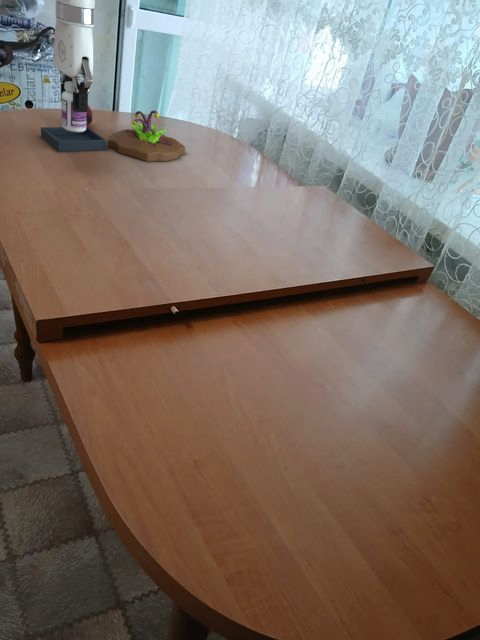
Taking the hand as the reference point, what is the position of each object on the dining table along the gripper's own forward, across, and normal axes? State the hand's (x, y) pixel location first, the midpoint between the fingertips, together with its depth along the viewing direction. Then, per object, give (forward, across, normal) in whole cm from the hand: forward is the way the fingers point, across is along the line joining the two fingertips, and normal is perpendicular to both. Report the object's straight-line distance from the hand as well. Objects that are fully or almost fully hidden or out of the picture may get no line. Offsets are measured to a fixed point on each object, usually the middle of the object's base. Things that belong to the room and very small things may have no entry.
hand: (74, 106), depth 122 cm
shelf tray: (+17, -24, +11) cm, 31 cm away
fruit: (+17, -36, +18) cm, 43 cm away
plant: (+16, -17, +30) cm, 38 cm away
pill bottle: (+5, 0, 0) cm, 5 cm away
